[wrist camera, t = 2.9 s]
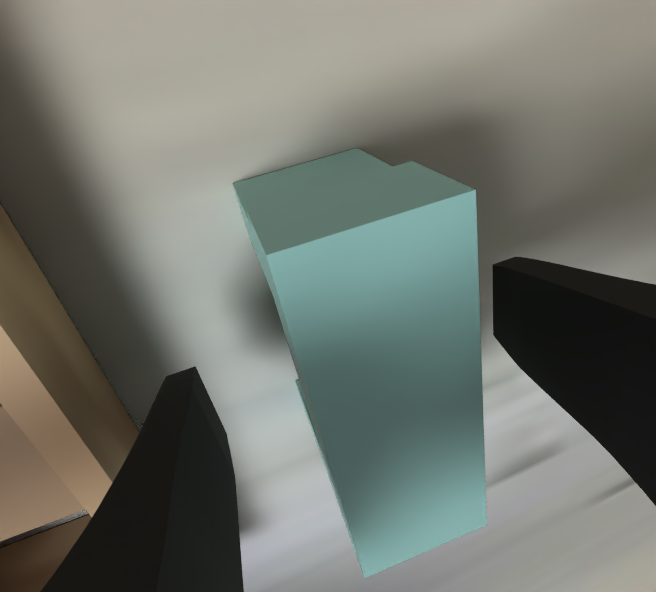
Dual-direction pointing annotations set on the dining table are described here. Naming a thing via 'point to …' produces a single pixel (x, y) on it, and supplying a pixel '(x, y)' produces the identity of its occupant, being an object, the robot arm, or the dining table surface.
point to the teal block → (381, 340)
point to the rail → (48, 422)
